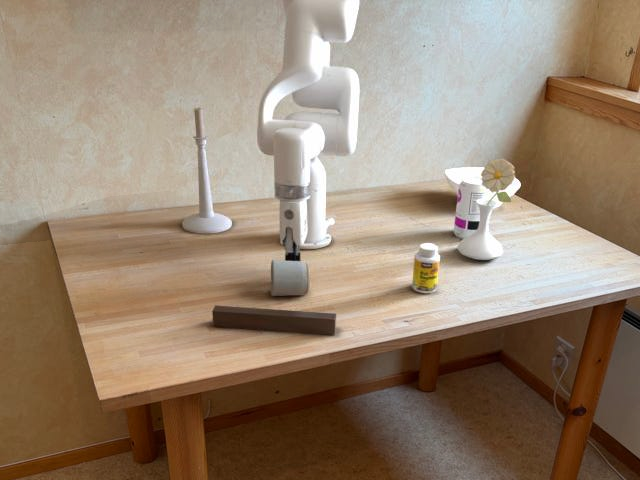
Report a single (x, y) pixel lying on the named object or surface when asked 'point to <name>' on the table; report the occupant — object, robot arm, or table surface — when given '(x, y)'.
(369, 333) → the table surface
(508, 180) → the flower in vase
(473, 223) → the supplement can
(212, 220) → the candlestick
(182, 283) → the table surface
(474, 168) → the bowl
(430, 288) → the supplement bottle
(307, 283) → the ceramic mug
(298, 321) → the board
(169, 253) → the table surface
